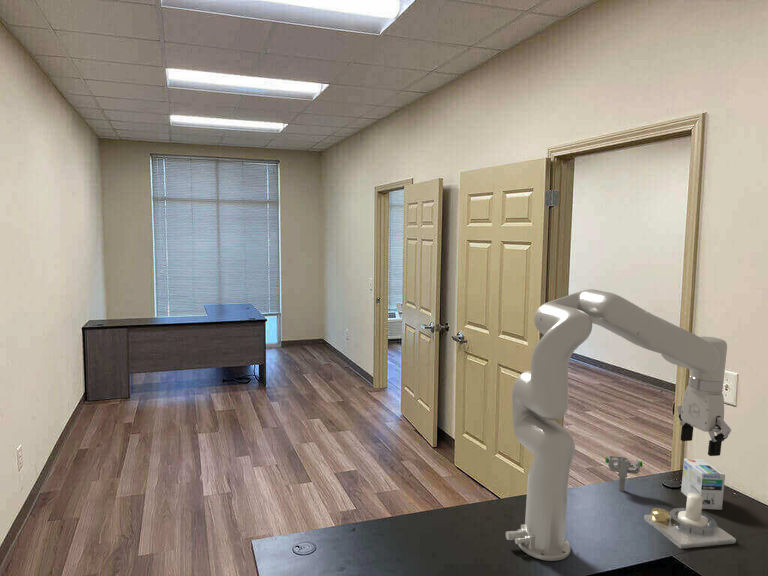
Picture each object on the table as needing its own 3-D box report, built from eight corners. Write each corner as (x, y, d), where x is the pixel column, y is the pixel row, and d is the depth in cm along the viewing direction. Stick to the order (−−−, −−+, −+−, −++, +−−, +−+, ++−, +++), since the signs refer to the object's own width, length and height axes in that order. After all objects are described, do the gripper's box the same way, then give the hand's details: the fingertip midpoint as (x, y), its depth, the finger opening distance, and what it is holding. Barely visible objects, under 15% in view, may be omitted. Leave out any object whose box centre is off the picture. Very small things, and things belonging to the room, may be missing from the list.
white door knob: (690, 530, 144) (693, 503, 143) (671, 516, 151) (674, 490, 150) (713, 528, 146) (716, 501, 145) (694, 515, 152) (696, 489, 151)
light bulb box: (722, 510, 158) (726, 474, 157) (699, 509, 158) (702, 473, 157) (701, 492, 169) (705, 458, 167) (679, 491, 169) (683, 457, 167)
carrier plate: (680, 548, 138) (681, 536, 138) (643, 519, 152) (644, 508, 151) (735, 543, 141) (736, 531, 141) (694, 514, 155) (695, 503, 154)
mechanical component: (640, 494, 166) (643, 462, 164) (604, 490, 168) (606, 459, 166) (638, 490, 168) (640, 458, 167) (602, 486, 170) (605, 455, 169)
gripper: (670, 375, 152) (664, 435, 154) (719, 395, 135) (712, 462, 137) (694, 375, 153) (688, 434, 155) (746, 394, 136) (738, 461, 138)
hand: (699, 447), depth 146 cm, fingers open, 9 cm apart
